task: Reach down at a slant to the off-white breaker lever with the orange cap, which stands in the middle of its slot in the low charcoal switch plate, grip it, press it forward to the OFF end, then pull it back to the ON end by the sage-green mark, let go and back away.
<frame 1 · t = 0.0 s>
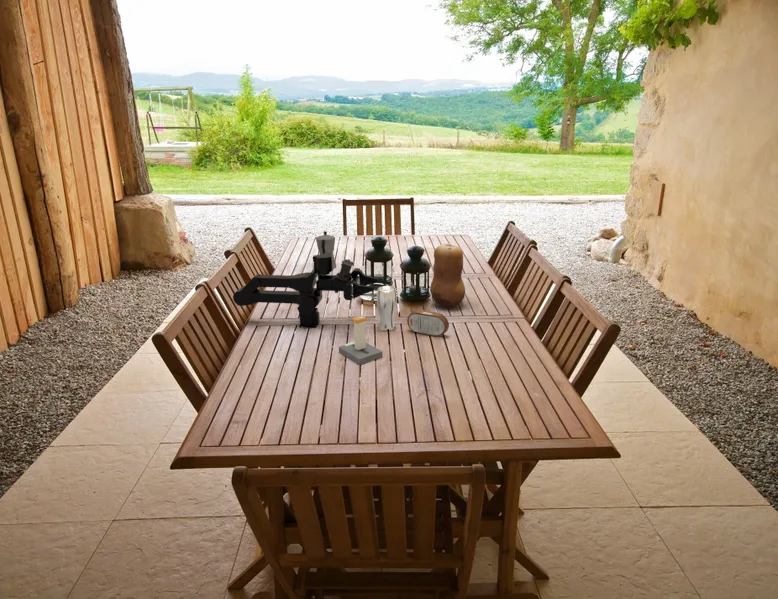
hand: (376, 284, 206), 17 cm above the table, tool horizontal, fingers open, 9 cm apart
switch plate: (360, 354, 190), on the table
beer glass: (386, 328, 211), on the table
breaker lever: (359, 333, 188), point 8 cm above the table, slide at 0.0 cm
butternut squash: (447, 306, 232), on the table
tin: (427, 334, 206), on the table
coffeepot: (326, 268, 282), on the table
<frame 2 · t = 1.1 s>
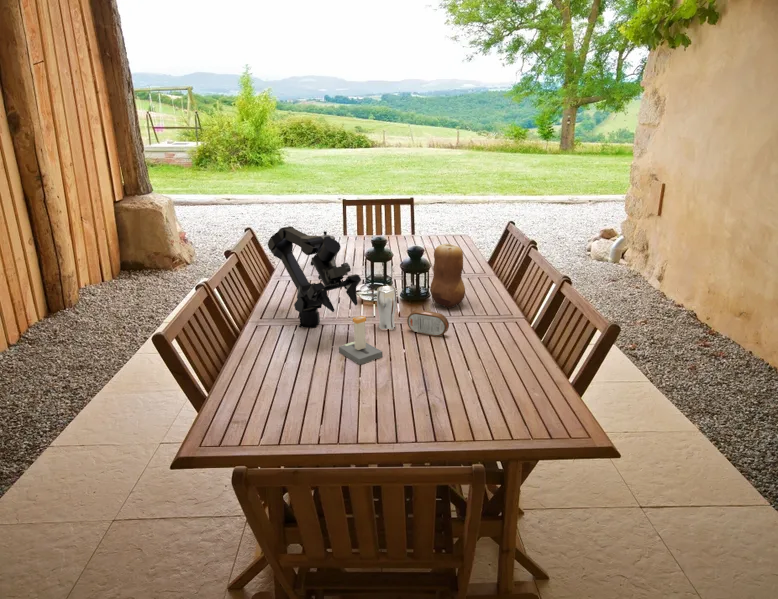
hand: (345, 308, 192), 14 cm above the table, tool tilted 45°, fingers open, 9 cm apart
nothing on the table moved.
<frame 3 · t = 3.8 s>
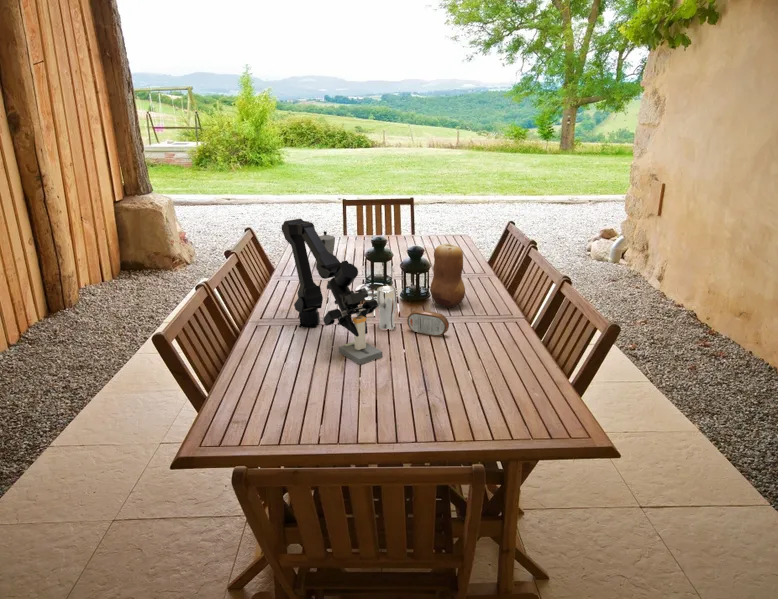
hand: (362, 334, 187), 8 cm above the table, tool tilted 45°, fingers closed on breaker lever, 3 cm apart
breaker lever: (359, 333, 188), point 8 cm above the table, slide at 0.0 cm, touching gripper
everything else where it was.
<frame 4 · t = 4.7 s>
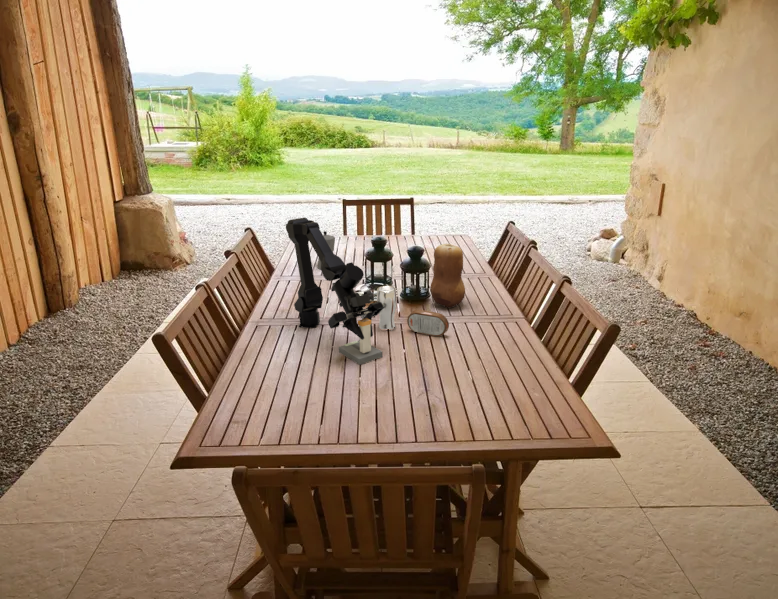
hand: (367, 337, 184), 8 cm above the table, tool tilted 45°, fingers closed on breaker lever, 3 cm apart
breaker lever: (365, 335, 185), point 8 cm above the table, slide at 2.9 cm, touching gripper
everything else where it was.
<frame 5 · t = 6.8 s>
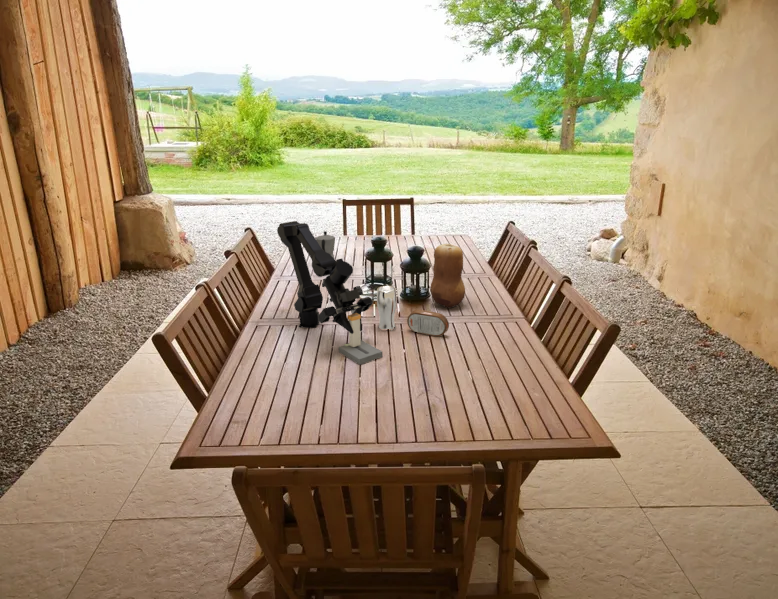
hand: (357, 332, 189), 8 cm above the table, tool tilted 45°, fingers closed on breaker lever, 3 cm apart
breaker lever: (354, 330, 190), point 8 cm above the table, slide at -2.9 cm, touching gripper
everything else where it was.
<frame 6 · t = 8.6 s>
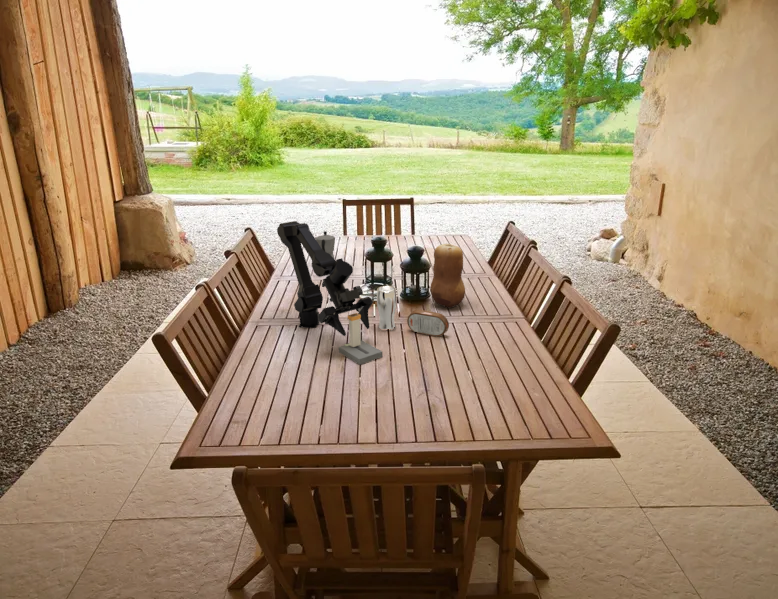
hand: (357, 331, 189), 8 cm above the table, tool tilted 45°, fingers open, 9 cm apart
breaker lever: (354, 330, 190), point 8 cm above the table, slide at -3.0 cm
everything else where it was.
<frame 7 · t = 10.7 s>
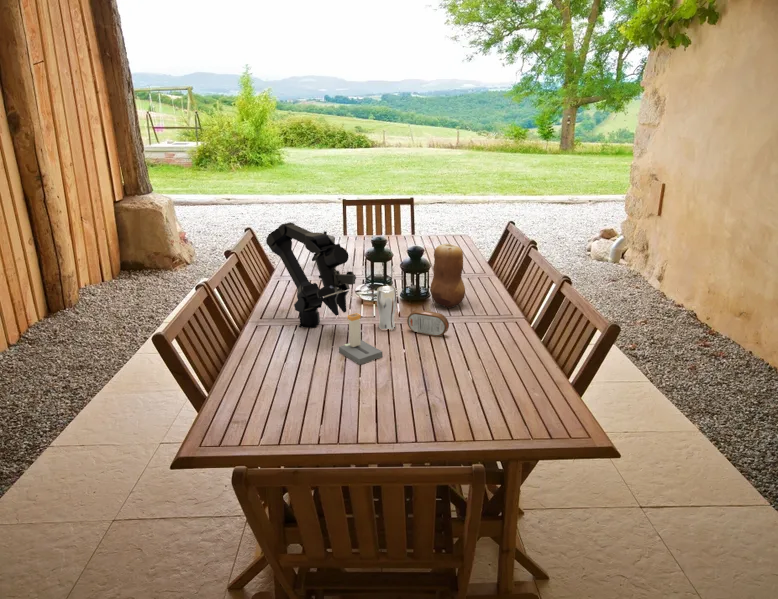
hand: (341, 313, 198), 10 cm above the table, tool tilted 25°, fingers open, 9 cm apart
nothing on the table moved.
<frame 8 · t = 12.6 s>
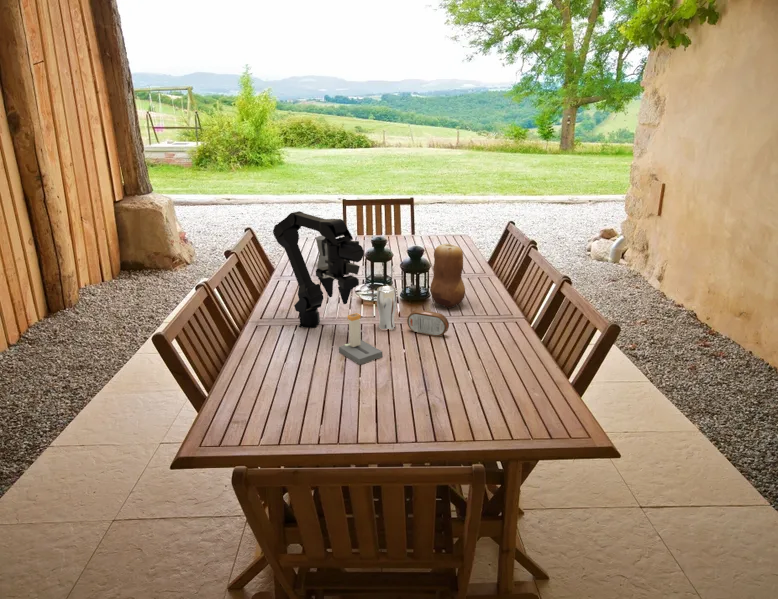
hand: (337, 300, 201), 13 cm above the table, tool pointing down, fingers open, 9 cm apart
nothing on the table moved.
at the end: breaker lever slide at -3.0 cm; the gripper is holding nothing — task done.
